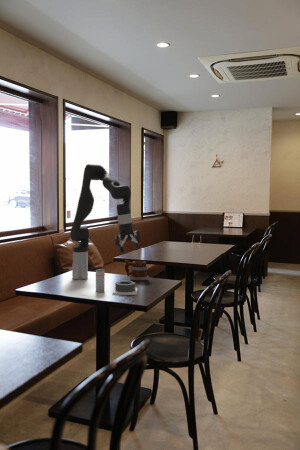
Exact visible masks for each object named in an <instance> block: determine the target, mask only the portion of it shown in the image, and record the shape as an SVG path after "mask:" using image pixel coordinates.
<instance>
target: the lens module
mask: <svg viewBox="0 0 300 450" xmlns="http://www.w3.org/2000/svg"><path fill="white" fill-rule="evenodd" d="M105 275H106V274H105V269H102V268H97V269H95V293H99V294H100V293H105V283H106V282H105V281H106V279H105Z"/></svg>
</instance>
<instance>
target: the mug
mask: <svg viewBox="0 0 300 450" xmlns="http://www.w3.org/2000/svg"><path fill="white" fill-rule="evenodd" d="M124 262H125V265H124V269H125V272H126V276H127V277H129V279H130V281H135V283H144V281H145V282H147V281H148V280H149V276H148V266H147V261H145V260H133V261H132V262H130V261H129V260H128V259H125V260H124ZM130 269H131V271H130Z"/></svg>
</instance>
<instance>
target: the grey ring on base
mask: <svg viewBox="0 0 300 450" xmlns="http://www.w3.org/2000/svg"><path fill="white" fill-rule="evenodd" d="M114 284H115V287H114V288H113V291H112V295H119V296H120V295H121V296H122V295H125V296H126V295H127V296H128V295H129V296H130V295H132V296H137V294H138V287H136V282H133V281H131V280H119V281H115V283H114Z"/></svg>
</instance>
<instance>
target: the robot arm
mask: <svg viewBox="0 0 300 450" xmlns="http://www.w3.org/2000/svg"><path fill="white" fill-rule="evenodd" d="M92 181H102V185H103V187H104V189H106V191H108V192H109V193H110V195H111V197H112V199H114V200H122V201H121V203H118V204H117V205H116V213H117V224H118V230H119V234H115V235H114V244H115V246H116V247H119V252H120V254H125V251H124V244H125V243H126V242H128V241H131V242H133V247H134V251H138V249H139V242H141V236H140V232H139V230H135V231H134V227H133V224H134V223H133V219H132V215H131V208H130V207H131V206H130V202H131V196H132V191H131V188H130V186H129V185H127V184H124V185H121V184H120V183H119V181H118V180H116V179H115V178H113V177H112V176H111V175H110V174H109V172H108V171H107V170H106V169H105V168H104V166H102V165H100V164H95V163H94V164H93V163H88V164H86V165H85V167H84V170H83V177H82V183H81V190H80V194H79V197H78V201H77V207H76V212H75V216H74V218H73V221H72V222H73V223H72V226H71V228H70V233H69V235H70V240H71V241H72V242H79V243H78V244H77V245H75V246H73V248H72V266H71V267H72V274H71V275H72V276H71V278H72V280H86V279H88V278H89V277H88V276H89V273H88V272H89V266H88V264H89V262H88V261H89V253H88V252H89V251H88V250H89V243H90V241H89V240H90V230H89V228H88V227H87V226H83V225H82V224H83V222H84V221H85V220H86V219H87V217H88V216H90V214H91V213H92V211H93V208H94V204H95V203H94V202H95V198H94V195H93V193H92V190H91V182H92Z"/></svg>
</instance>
